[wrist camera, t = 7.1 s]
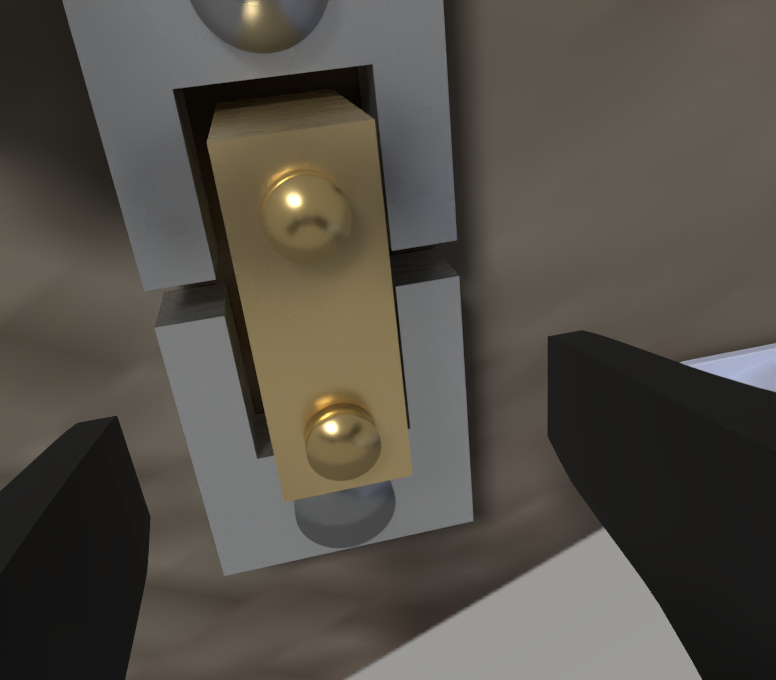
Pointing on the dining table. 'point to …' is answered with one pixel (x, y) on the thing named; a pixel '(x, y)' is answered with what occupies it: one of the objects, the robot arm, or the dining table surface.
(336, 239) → the gold bar with studs
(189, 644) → the dining table surface
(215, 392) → the grey slotted frame
